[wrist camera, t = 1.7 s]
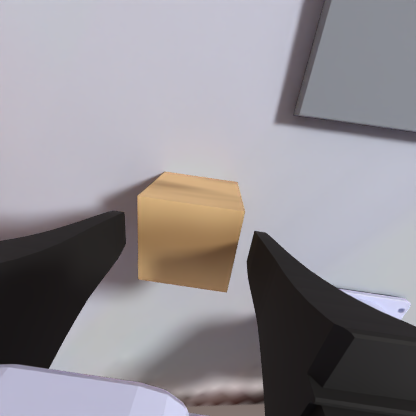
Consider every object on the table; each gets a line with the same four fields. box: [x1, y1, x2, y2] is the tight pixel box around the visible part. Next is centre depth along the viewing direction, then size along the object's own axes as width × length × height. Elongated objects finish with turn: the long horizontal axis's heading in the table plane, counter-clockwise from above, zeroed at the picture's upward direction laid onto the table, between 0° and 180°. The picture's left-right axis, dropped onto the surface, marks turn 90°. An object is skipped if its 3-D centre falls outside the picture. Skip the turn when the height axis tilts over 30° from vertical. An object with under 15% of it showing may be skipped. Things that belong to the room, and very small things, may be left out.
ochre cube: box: [137, 172, 245, 292], centre depth 13 cm, size 5×5×5 cm
